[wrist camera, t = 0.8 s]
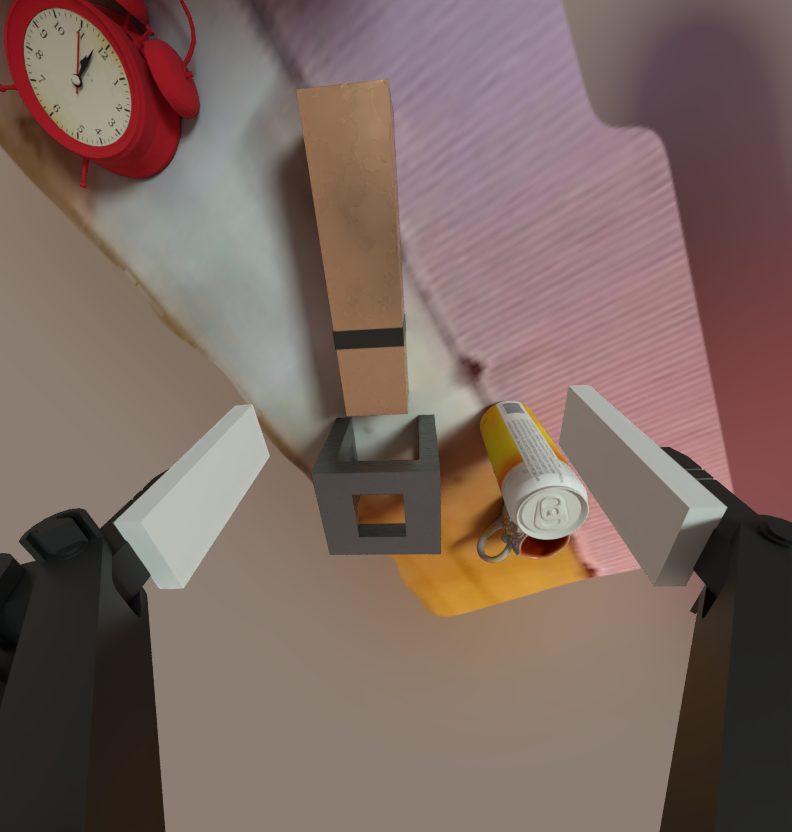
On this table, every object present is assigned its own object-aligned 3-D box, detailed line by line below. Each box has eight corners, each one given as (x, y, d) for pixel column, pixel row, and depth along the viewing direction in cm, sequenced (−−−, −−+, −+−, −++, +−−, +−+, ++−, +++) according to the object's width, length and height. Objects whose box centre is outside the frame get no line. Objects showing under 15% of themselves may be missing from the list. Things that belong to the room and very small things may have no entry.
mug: (539, 474, 42) (559, 511, 36) (563, 508, 44) (586, 548, 38) (459, 515, 46) (465, 555, 40) (485, 544, 48) (494, 586, 42)
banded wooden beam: (319, 120, 27) (295, 89, 21) (394, 112, 26) (388, 78, 21) (355, 391, 38) (345, 416, 32) (409, 389, 37) (408, 414, 32)
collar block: (336, 418, 39) (311, 474, 30) (434, 414, 39) (440, 471, 29) (348, 487, 44) (329, 554, 35) (435, 485, 43) (441, 554, 34)
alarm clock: (-37, 64, 24) (21, -185, 17) (56, 86, 29) (131, -99, 22) (89, 209, 28) (180, 56, 20) (151, 205, 33) (242, 82, 25)
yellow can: (481, 447, 40) (513, 547, 27) (476, 402, 38) (509, 489, 24) (532, 439, 39) (592, 538, 26) (531, 393, 37) (596, 478, 23)
